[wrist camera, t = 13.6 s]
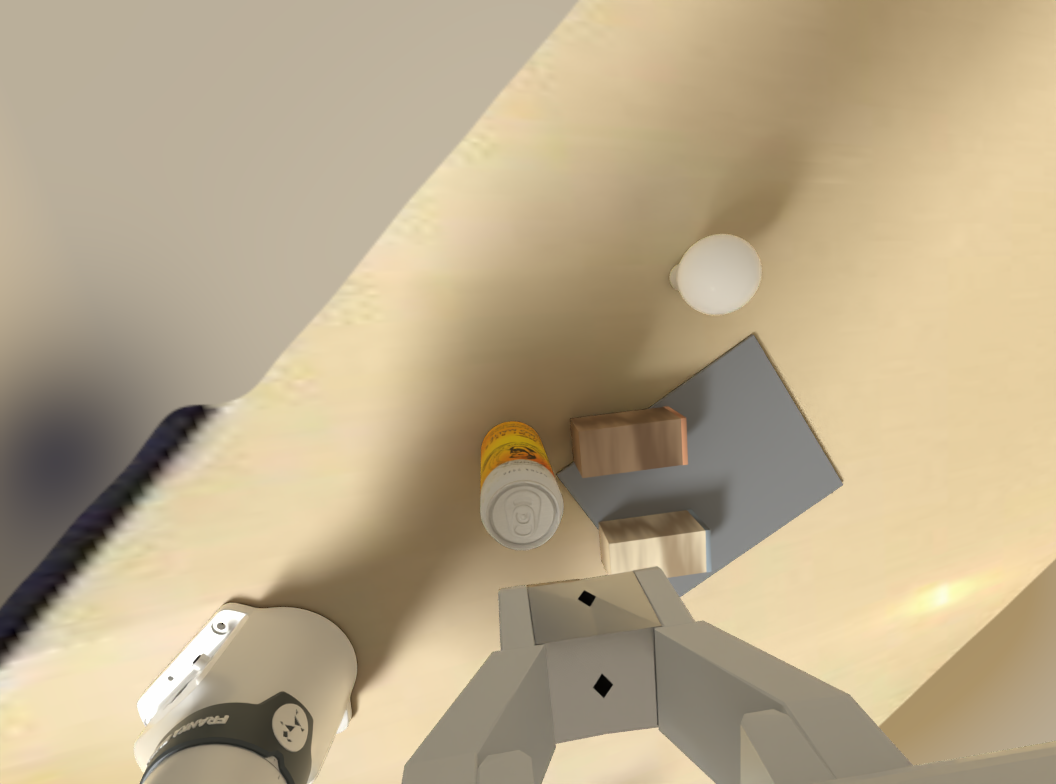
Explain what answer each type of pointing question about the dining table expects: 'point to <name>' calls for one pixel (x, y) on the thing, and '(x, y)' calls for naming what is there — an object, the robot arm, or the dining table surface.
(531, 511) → the beer can
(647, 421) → the walnut block
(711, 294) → the lightbulb
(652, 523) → the maple block
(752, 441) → the rubber mat
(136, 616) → the dining table surface
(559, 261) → the dining table surface
